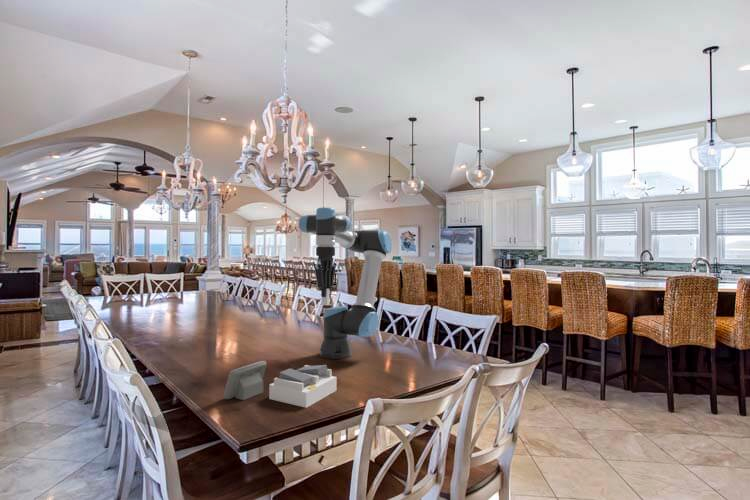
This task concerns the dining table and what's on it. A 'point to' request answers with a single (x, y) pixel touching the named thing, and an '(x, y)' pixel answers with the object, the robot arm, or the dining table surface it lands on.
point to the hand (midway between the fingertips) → (325, 304)
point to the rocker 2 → (313, 369)
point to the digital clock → (245, 381)
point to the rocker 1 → (295, 376)
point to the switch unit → (303, 389)
